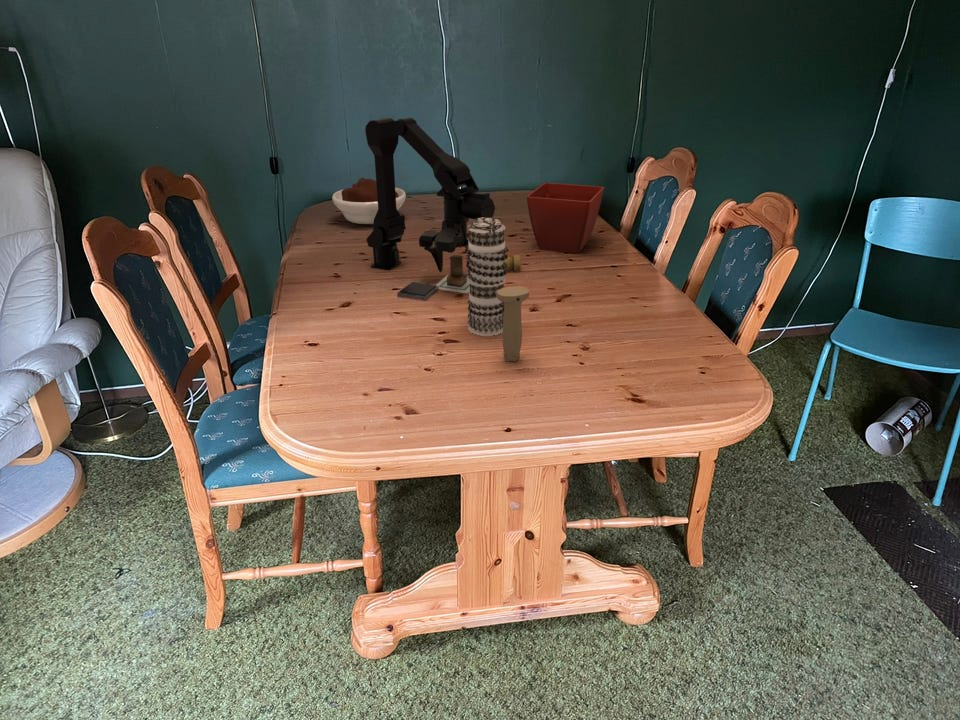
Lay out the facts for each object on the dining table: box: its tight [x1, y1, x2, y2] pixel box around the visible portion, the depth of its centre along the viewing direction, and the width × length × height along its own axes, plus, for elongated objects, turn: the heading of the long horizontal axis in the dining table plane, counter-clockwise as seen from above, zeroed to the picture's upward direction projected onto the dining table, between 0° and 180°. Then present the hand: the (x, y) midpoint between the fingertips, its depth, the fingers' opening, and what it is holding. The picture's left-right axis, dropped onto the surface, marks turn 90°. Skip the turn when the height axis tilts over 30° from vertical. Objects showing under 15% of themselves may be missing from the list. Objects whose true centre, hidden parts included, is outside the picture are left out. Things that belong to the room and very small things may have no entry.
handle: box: [497, 285, 530, 363], centre depth 129 cm, size 5×6×15 cm
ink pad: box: [396, 281, 439, 302], centre depth 165 cm, size 8×8×1 cm
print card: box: [435, 274, 470, 295], centre depth 170 cm, size 10×10×1 cm
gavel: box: [503, 254, 522, 273], centre depth 187 cm, size 21×5×10 cm
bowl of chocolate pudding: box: [331, 177, 407, 225], centre depth 221 cm, size 25×25×15 cm
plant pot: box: [526, 182, 605, 254], centre depth 195 cm, size 19×19×17 cm
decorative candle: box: [464, 217, 509, 337], centre depth 140 cm, size 9×9×25 cm
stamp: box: [446, 254, 468, 287], centre depth 168 cm, size 4×4×7 cm
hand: (456, 273), depth 169 cm, fingers open, 9 cm apart
